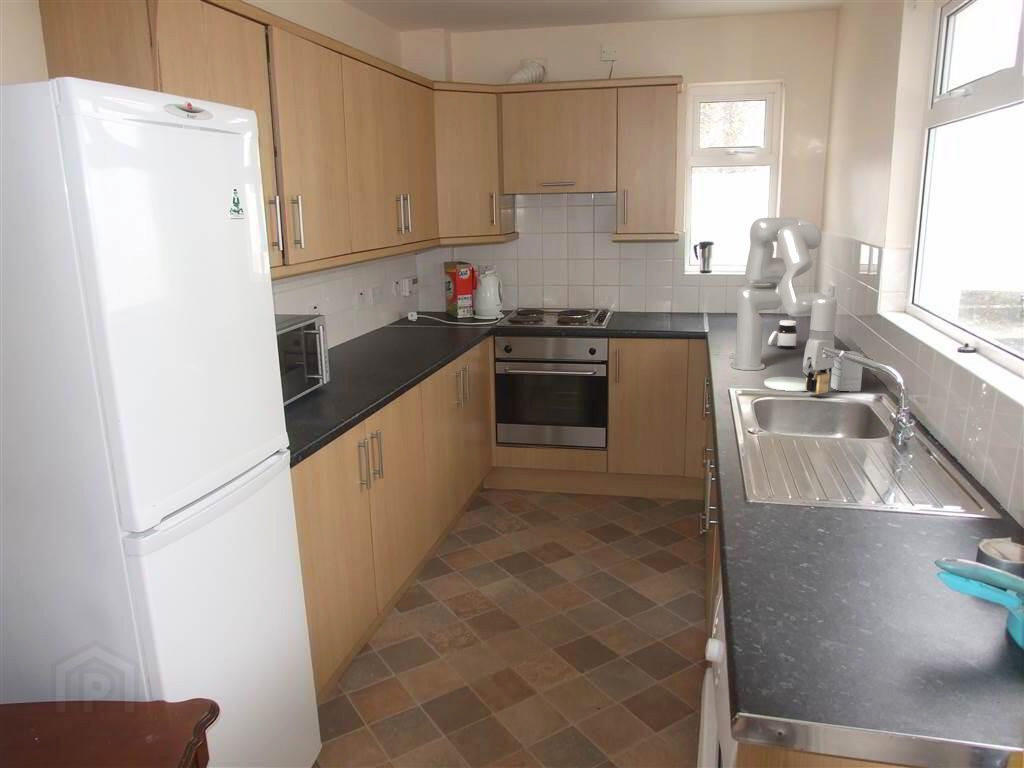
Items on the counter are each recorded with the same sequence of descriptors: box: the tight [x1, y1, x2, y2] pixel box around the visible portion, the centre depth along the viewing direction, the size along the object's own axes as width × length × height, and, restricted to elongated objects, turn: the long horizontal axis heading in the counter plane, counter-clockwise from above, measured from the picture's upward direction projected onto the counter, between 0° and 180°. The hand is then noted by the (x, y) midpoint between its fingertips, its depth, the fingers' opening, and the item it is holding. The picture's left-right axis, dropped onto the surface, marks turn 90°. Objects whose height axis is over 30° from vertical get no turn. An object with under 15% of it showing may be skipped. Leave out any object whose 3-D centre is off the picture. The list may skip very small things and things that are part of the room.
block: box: [805, 371, 831, 395], centre depth 251 cm, size 5×5×6 cm
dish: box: [763, 376, 806, 392], centre depth 267 cm, size 18×18×1 cm
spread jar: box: [767, 319, 798, 350], centre depth 333 cm, size 12×11×12 cm
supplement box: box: [830, 350, 864, 392], centre depth 260 cm, size 7×7×13 cm
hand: (816, 389), depth 251 cm, fingers closed on block, 5 cm apart
